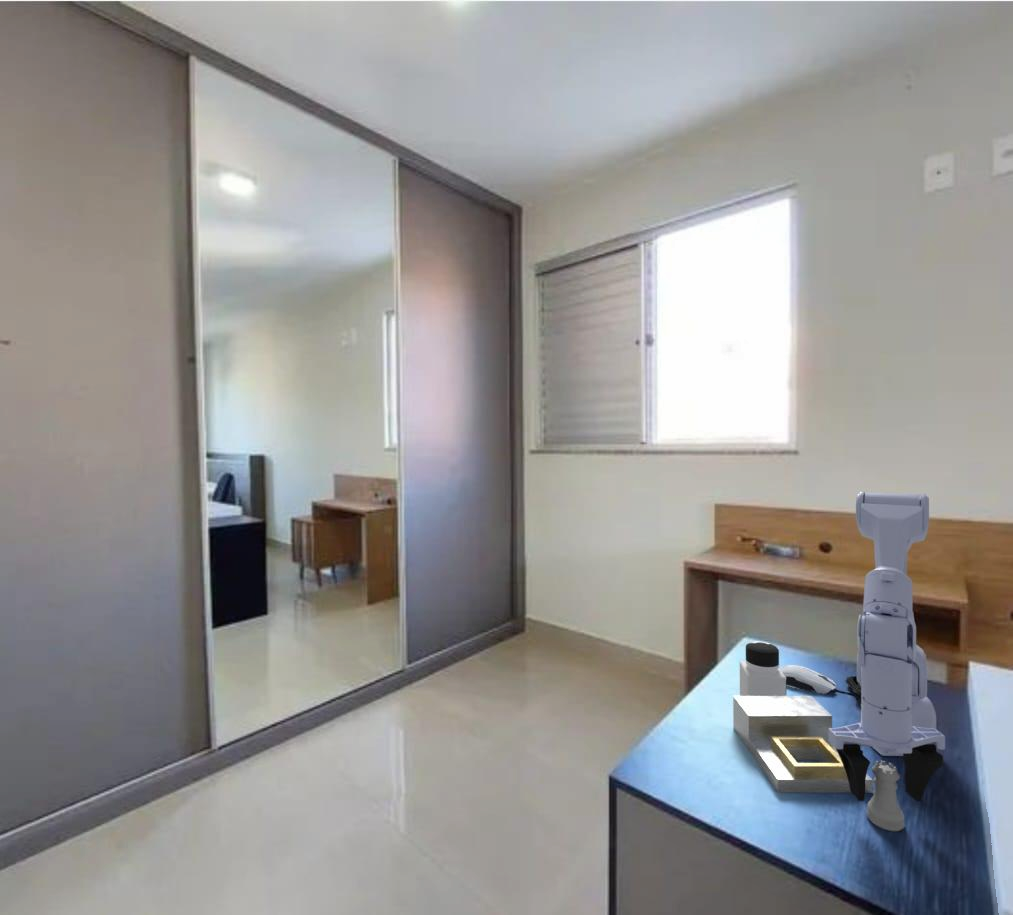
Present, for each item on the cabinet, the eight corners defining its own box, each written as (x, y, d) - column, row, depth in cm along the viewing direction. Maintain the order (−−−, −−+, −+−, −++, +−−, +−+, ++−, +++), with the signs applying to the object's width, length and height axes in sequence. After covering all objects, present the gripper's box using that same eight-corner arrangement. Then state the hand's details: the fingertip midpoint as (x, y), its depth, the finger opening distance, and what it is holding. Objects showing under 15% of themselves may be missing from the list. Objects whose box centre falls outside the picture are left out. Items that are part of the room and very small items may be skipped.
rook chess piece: (906, 838, 72) (907, 780, 72) (866, 825, 75) (866, 769, 74) (903, 817, 76) (903, 762, 76) (865, 806, 78) (865, 752, 78)
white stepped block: (810, 727, 99) (810, 695, 99) (872, 792, 81) (873, 754, 81) (733, 727, 100) (733, 696, 100) (777, 792, 82) (777, 753, 82)
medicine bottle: (787, 714, 104) (786, 653, 104) (747, 711, 106) (747, 650, 105) (776, 696, 111) (776, 639, 111) (739, 693, 113) (739, 637, 112)
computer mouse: (772, 671, 124) (771, 654, 123) (867, 689, 114) (867, 671, 114) (766, 689, 115) (766, 670, 115) (869, 710, 105) (869, 690, 105)
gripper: (849, 716, 71) (848, 816, 71) (963, 716, 70) (962, 817, 71) (820, 690, 78) (820, 781, 79) (924, 690, 77) (923, 782, 78)
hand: (885, 796), depth 75 cm, fingers open, 7 cm apart
